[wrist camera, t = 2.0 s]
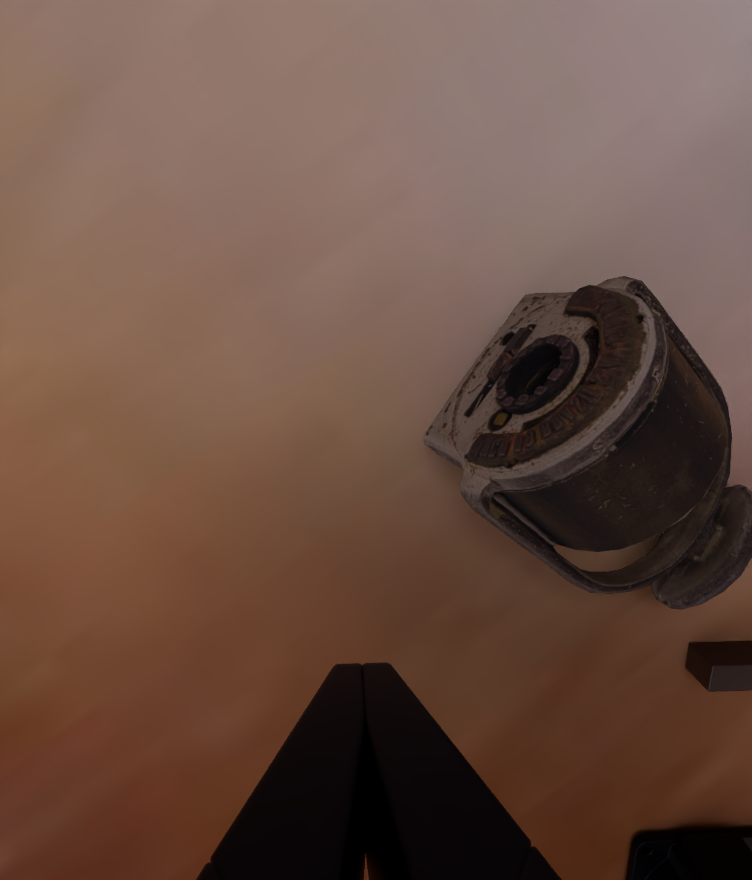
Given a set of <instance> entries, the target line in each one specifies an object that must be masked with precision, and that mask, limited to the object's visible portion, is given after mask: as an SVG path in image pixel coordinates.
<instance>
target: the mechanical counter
mask: <svg viewBox="0 0 752 880" xmlns="http://www.w3.org/2000/svg"><path fill="white" fill-rule="evenodd" d="M424 442H425V445H427V446H428V447H430V448H431V449H433V450H434V451H435V452H436V453H437V454H439V455H441V456H443V457H444V458H446V459H448V460H450V461H451V462H453V463H455V464H456V465H458V466H460V467H462V468H463V469H464V474H463V478H462V482H461V493H462V496H463V497H464V499H465V500H466V502H467V503H468V504H469V505H470V507H471V508H472V509H473V510H474V511H476V512H477V513H478V514H480V515H481V516H482V517H484V518H485V519H486V520H488V521H489V522H490V523H492V524H493V525H494V526H496V527H497V528H498V529H500V530H501V531H502V532H503V533H505V534H506V535H507V536H509V537H510V538H511V539H513V540H514V541H515V542H517V543H518V544H519V545H521V546H522V547H523V548H525V549H526V550H528V551H529V552H530V553H532V554H533V555H534V556H536V557H537V558H539V559H540V560H541V561H543V562H544V563H545V564H547V565H548V566H549V567H550V568H552V569H553V570H554V571H556V572H557V573H558V574H559V575H561V576H562V577H563V578H565V579H566V580H568V581H569V582H570V583H572V584H574V585H576V586H578V587H580V588H582V589H584V590H586V591H588V592H590V593H607V594H611V593H620V592H630V591H633V590H636V589H639V588H642V587H645V586H647V585H649V584H652V590H653V594H654V596H655V598H656V600H658V601H660V602H661V603H663V604H665V605H667V606H669V607H670V608H672V609H685V608H689V607H693V606H697V605H701V604H703V603H704V602H706V601H708V600H710V599H711V598H713V597H715V596H717V595H718V594H720V593H722V592H724V591H725V590H726V589H727V588H728V587H729V586H730V585H731V584H732V583H733V582H734V581H735V580H736V579H737V578H739V577H740V576H741V574H742V573H743V571H744V569H745V568H746V566H747V565H748V563H749V561H750V560H751V558H752V492H751V491H750V490H749V489H748V488H747V487H745V486H742V485H736V486H731V487H726V484H727V481H728V478H729V475H730V460H731V442H732V433H731V425H730V418H729V411H728V406H727V403H726V400H725V397H724V394H723V391H722V389H721V387H720V385H719V384H718V382H717V381H716V379H715V378H714V376H713V375H712V373H711V372H710V370H709V369H708V368H707V366H706V365H705V363H704V362H703V361H702V359H701V358H700V357H699V355H698V354H697V353H696V351H695V350H694V348H693V347H692V346H691V344H690V343H689V342H688V340H687V339H686V338H685V336H684V335H683V334H682V332H681V331H680V330H679V328H678V327H677V326H676V324H675V323H674V322H673V320H672V319H671V318H670V316H669V315H668V313H667V312H666V311H665V309H664V308H663V306H662V305H661V304H660V302H659V301H658V300H657V298H656V297H655V296H654V295H653V293H652V292H651V291H650V290H649V289H648V288H647V286H646V285H645V284H644V283H643V282H642V281H640V280H637V279H633V278H629V277H625V276H623V277H618V278H613V279H609V280H606V281H604V282H602V283H600V284H599V285H597V286H593V285H588V286H585V287H583V288H580V289H578V290H577V291H576V292H569V293H535V294H528V295H525V296H524V298H523V299H522V300H521V301H520V302H519V304H518V305H517V306H516V307H515V309H514V310H513V312H512V313H511V314H510V316H509V317H508V319H507V320H506V322H505V323H504V324H503V326H502V327H501V328H500V330H499V331H498V332H497V334H496V335H495V336H494V338H493V339H492V340H491V342H490V343H489V344H488V346H487V347H486V348H485V350H484V351H483V352H482V354H481V355H480V356H479V358H478V359H477V360H476V362H475V363H474V364H473V366H472V367H471V368H470V370H469V371H468V373H467V374H466V375H465V377H464V378H463V380H462V381H461V382H460V384H459V385H458V387H457V388H456V389H455V391H454V392H453V394H452V395H451V397H450V398H449V400H448V401H447V403H446V404H445V405H444V407H443V408H442V410H441V411H440V413H439V414H438V416H437V417H436V419H435V420H434V422H433V423H432V424H431V426H430V427H429V429H428V430H427V432H426V433H425V435H424ZM725 487H726V488H725ZM664 530H665V532H664V533H663V535H662V536H661V538H660V540H659V541H658V543H657V544H656V545H655V546H654V547H653V548H652V549H651V550H650V551H649V553H648V554H647V555H646V556H644V557H642V558H641V559H639V560H637V561H636V562H634V563H633V564H631V565H629V566H627V567H624V568H622V569H619V570H614V571H609V572H590V571H585V570H581V569H579V568H578V567H576V566H575V565H573V564H572V563H570V562H569V561H568V560H566V559H565V558H564V557H563V556H561V555H560V554H559V553H557V552H556V550H555V549H554V548H553V546H555V545H557V544H558V545H561V546H565V547H568V548H572V549H575V550H584V551H594V552H600V551H609V550H618V549H622V548H625V547H628V546H631V545H634V544H637V543H640V542H643V541H646V540H649V539H650V538H652V537H654V536H656V535H658V534H659V533H661V532H663V531H664Z"/></svg>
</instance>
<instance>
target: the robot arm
mask: <svg viewBox="0 0 752 880" xmlns="http://www.w3.org/2000/svg"><path fill="white" fill-rule="evenodd" d="M365 852H366V860H367V868H368V875H369V880H562V879H561V878H560V877H559V876H558V875H557V873H556V872H555V871H554V870H553V868H552V867H551V866H550V865H549V863H548V862H547V861H546V859H545V858H544V857H543V856H542V854H541V853H540V852H539V850H538V849H537V848H536V847H531V841H530V840H529V838H528V837H527V836H526V834H525V833H524V832H523V831H522V829H521V828H520V827H519V826H518V824H517V823H516V822H515V821H514V819H513V818H512V817H511V816H510V814H509V813H508V812H507V811H506V809H505V808H504V807H503V805H502V804H501V803H500V802H499V800H498V799H497V798H496V797H495V795H494V794H493V793H492V792H491V790H490V789H489V788H488V787H487V785H486V784H485V783H484V781H483V780H482V779H481V778H480V776H479V775H478V774H477V773H476V771H475V770H474V769H473V768H472V766H471V765H470V764H469V763H468V761H467V760H466V759H465V758H464V756H463V755H462V754H461V752H460V751H459V750H458V749H457V747H456V746H455V745H454V744H453V742H452V741H451V740H450V739H449V737H448V736H447V735H446V734H445V732H444V731H443V730H442V729H441V727H440V726H439V725H438V723H437V722H436V721H435V720H434V718H433V717H432V716H431V715H430V713H429V712H428V711H427V710H426V708H425V707H424V706H423V705H422V703H421V702H420V701H419V700H418V698H417V697H416V696H415V694H414V693H413V692H412V691H411V689H410V688H409V687H408V686H407V684H406V683H405V682H404V681H403V679H402V678H401V677H400V676H399V674H398V673H397V672H396V670H395V669H394V668H393V667H392V665H391V664H389V663H365V664H363V665H361V664H358V663H354V664H336V665H335V666H334V667H333V668H332V669H331V671H330V672H329V674H328V676H327V677H326V679H325V680H324V682H323V683H322V685H321V686H320V688H319V690H318V691H317V693H316V694H315V696H314V697H313V699H312V700H311V702H310V704H309V705H308V707H307V708H306V710H305V711H304V713H303V714H302V716H301V718H300V719H299V721H298V722H297V724H296V725H295V727H294V728H293V730H292V732H291V733H290V735H289V736H288V738H287V739H286V741H285V742H284V744H283V746H282V747H281V749H280V750H279V752H278V753H277V755H276V756H275V758H274V760H273V761H272V763H271V764H270V766H269V767H268V769H267V770H266V772H265V774H264V775H263V777H262V778H261V780H260V781H259V783H258V784H257V786H256V788H255V789H254V791H253V792H252V794H251V795H250V797H249V798H248V800H247V802H246V803H245V805H244V806H243V808H242V809H241V811H240V813H239V814H238V816H237V817H236V819H235V820H234V822H233V823H232V825H231V827H230V828H229V830H228V831H227V833H226V834H225V836H224V837H223V839H222V841H221V842H220V844H219V845H218V847H217V848H216V850H215V851H214V853H213V855H212V856H211V863H207V864H206V865H205V866H204V868H203V869H202V871H201V873H200V874H199V876H198V877H197V879H196V880H364V869H365ZM626 880H752V828H750V829H730V830H709V831H688V832H668V833H647V834H640V835H638V836H636V837H635V838H634V839H633V841H632V844H631V850H630V857H629V863H628V870H627V876H626Z"/></svg>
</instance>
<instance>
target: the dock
mask: <svg viewBox="0 0 752 880" xmlns="http://www.w3.org/2000/svg"><path fill="white" fill-rule="evenodd" d="M686 668H687V669H688V670H689V672H690V673H691V674H692V675H693V676H694V677H695V678H696V679H697V680H698V681H699V682H700V683H701V684H702V685H703V686H704V687H705V688H706V690H707V691H709V692H715V691H745V690H752V641H738V642H702V643H690V644H689V649H688V655H687V661H686Z"/></svg>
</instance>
